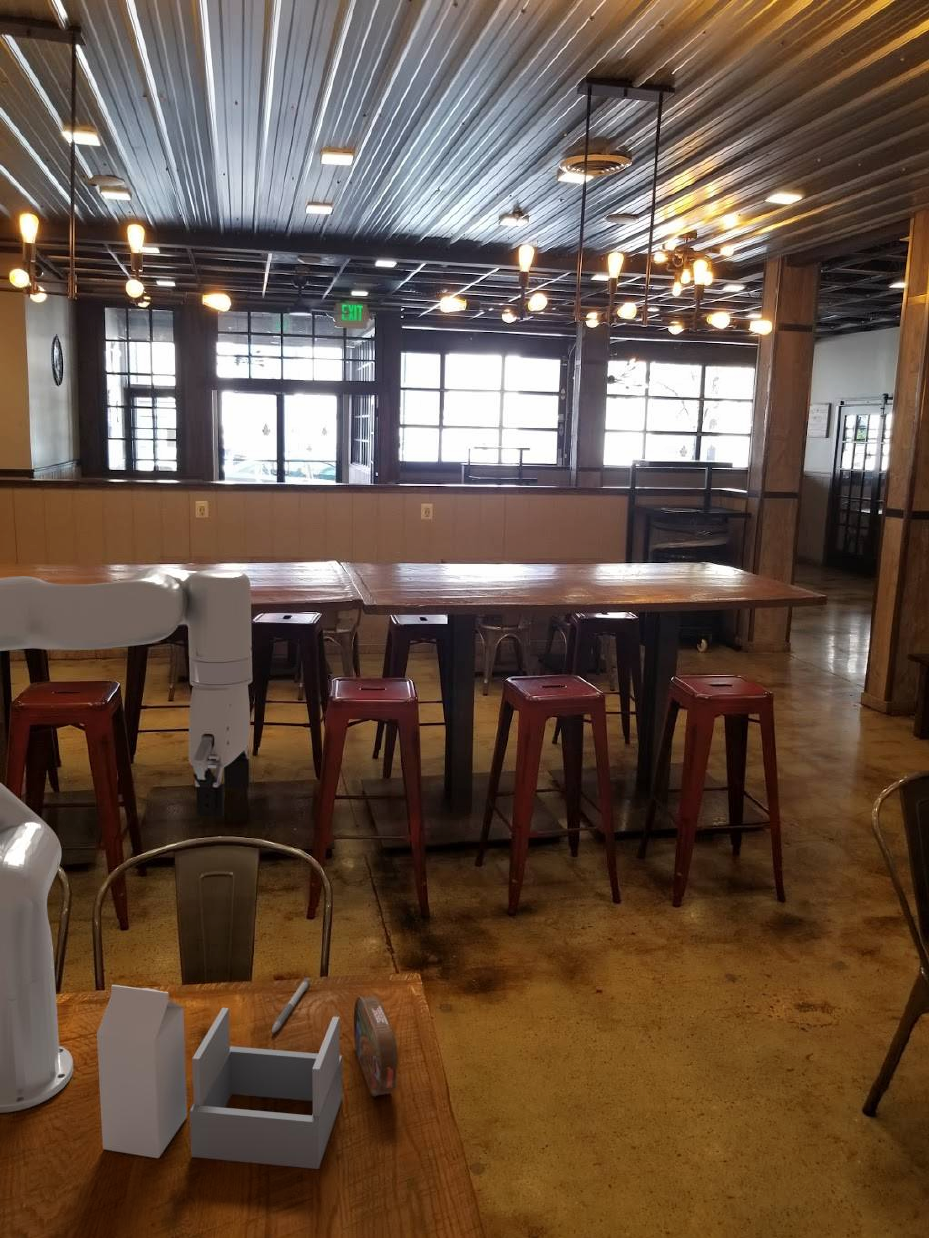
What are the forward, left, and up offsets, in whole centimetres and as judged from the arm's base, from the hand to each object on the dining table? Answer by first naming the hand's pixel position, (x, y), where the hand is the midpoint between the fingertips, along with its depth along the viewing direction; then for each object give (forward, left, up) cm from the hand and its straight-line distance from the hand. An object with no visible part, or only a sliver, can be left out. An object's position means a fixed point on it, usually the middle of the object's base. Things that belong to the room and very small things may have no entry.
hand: (224, 801), depth 122 cm
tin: (+20, 0, -37) cm, 42 cm away
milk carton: (-5, -15, -36) cm, 40 cm away
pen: (+5, +12, -37) cm, 39 cm away
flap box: (+9, -12, -36) cm, 39 cm away
